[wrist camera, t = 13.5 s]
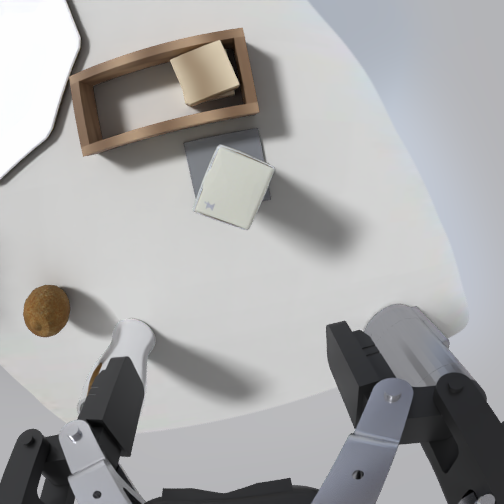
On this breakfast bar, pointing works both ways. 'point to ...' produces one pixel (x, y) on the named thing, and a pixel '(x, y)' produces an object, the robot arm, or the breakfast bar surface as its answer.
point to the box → (233, 187)
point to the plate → (32, 72)
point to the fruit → (46, 310)
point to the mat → (204, 149)
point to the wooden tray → (147, 58)
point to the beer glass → (124, 352)
